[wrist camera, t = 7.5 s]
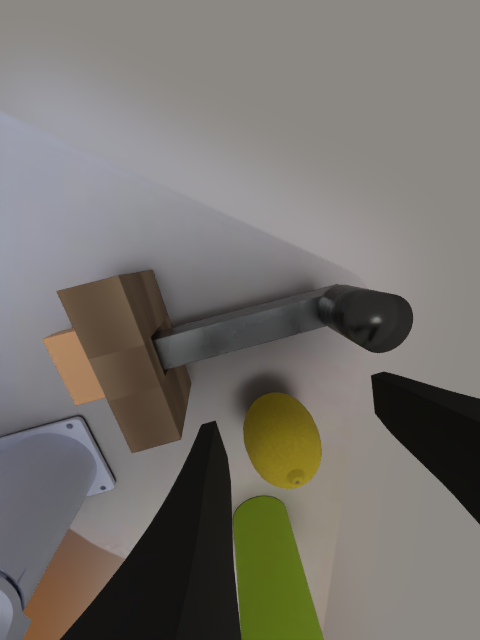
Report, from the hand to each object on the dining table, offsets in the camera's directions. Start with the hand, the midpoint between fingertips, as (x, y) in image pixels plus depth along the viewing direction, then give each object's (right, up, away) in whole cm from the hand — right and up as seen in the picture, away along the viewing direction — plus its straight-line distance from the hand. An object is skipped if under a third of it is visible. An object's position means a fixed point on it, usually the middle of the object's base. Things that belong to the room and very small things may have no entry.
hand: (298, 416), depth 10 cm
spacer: (-13, +2, +8) cm, 16 cm away
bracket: (-9, +3, +9) cm, 13 cm away
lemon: (0, -3, +11) cm, 12 cm away
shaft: (-2, +4, +6) cm, 8 cm away
